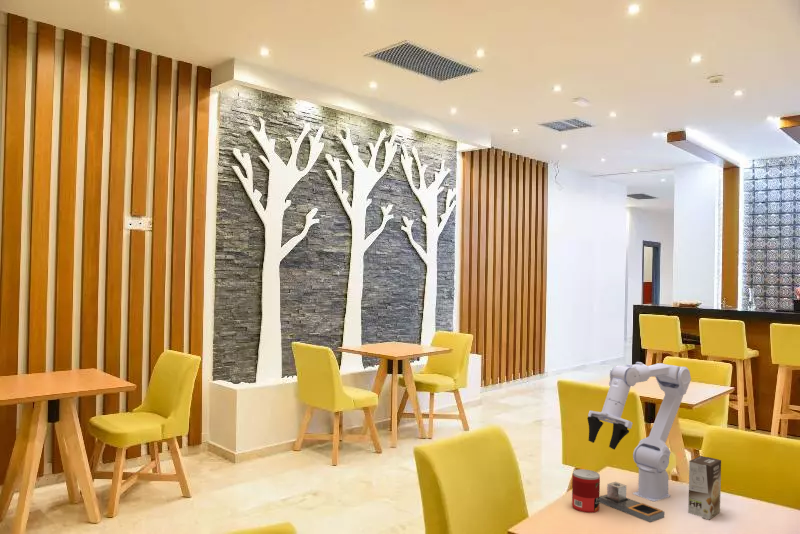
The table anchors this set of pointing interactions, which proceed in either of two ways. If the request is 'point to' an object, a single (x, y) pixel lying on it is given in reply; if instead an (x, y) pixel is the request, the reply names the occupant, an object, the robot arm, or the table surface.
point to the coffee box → (704, 487)
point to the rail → (634, 509)
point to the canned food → (585, 490)
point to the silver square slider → (616, 492)
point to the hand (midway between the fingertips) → (601, 445)
